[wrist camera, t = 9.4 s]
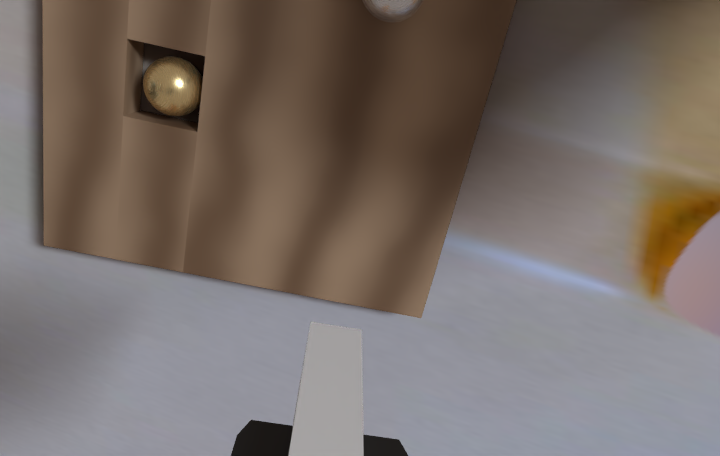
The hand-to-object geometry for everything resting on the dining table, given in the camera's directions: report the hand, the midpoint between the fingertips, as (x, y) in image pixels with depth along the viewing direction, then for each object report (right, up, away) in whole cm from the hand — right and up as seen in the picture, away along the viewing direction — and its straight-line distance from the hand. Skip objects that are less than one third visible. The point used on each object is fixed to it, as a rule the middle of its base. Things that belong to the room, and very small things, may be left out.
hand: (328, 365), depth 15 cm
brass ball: (-10, +13, +16) cm, 23 cm away
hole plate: (-5, +12, +18) cm, 22 cm away
